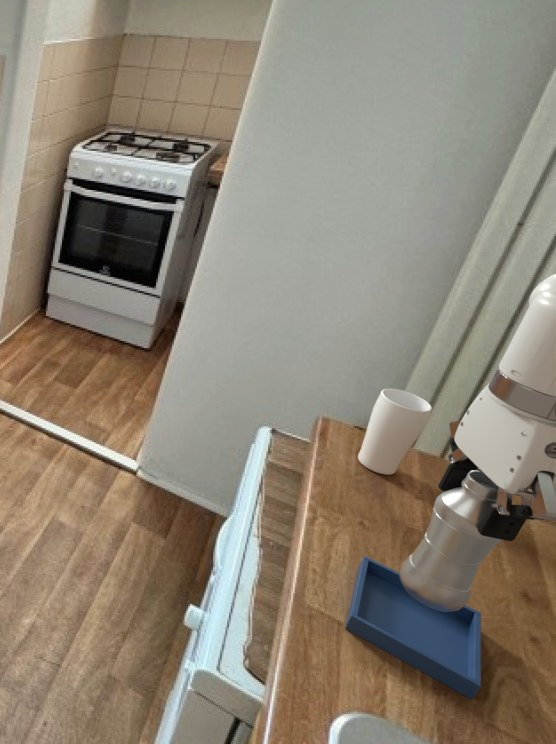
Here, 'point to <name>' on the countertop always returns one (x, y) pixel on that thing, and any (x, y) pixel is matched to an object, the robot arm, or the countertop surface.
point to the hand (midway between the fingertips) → (473, 512)
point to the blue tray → (416, 629)
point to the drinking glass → (392, 429)
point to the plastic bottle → (452, 546)
